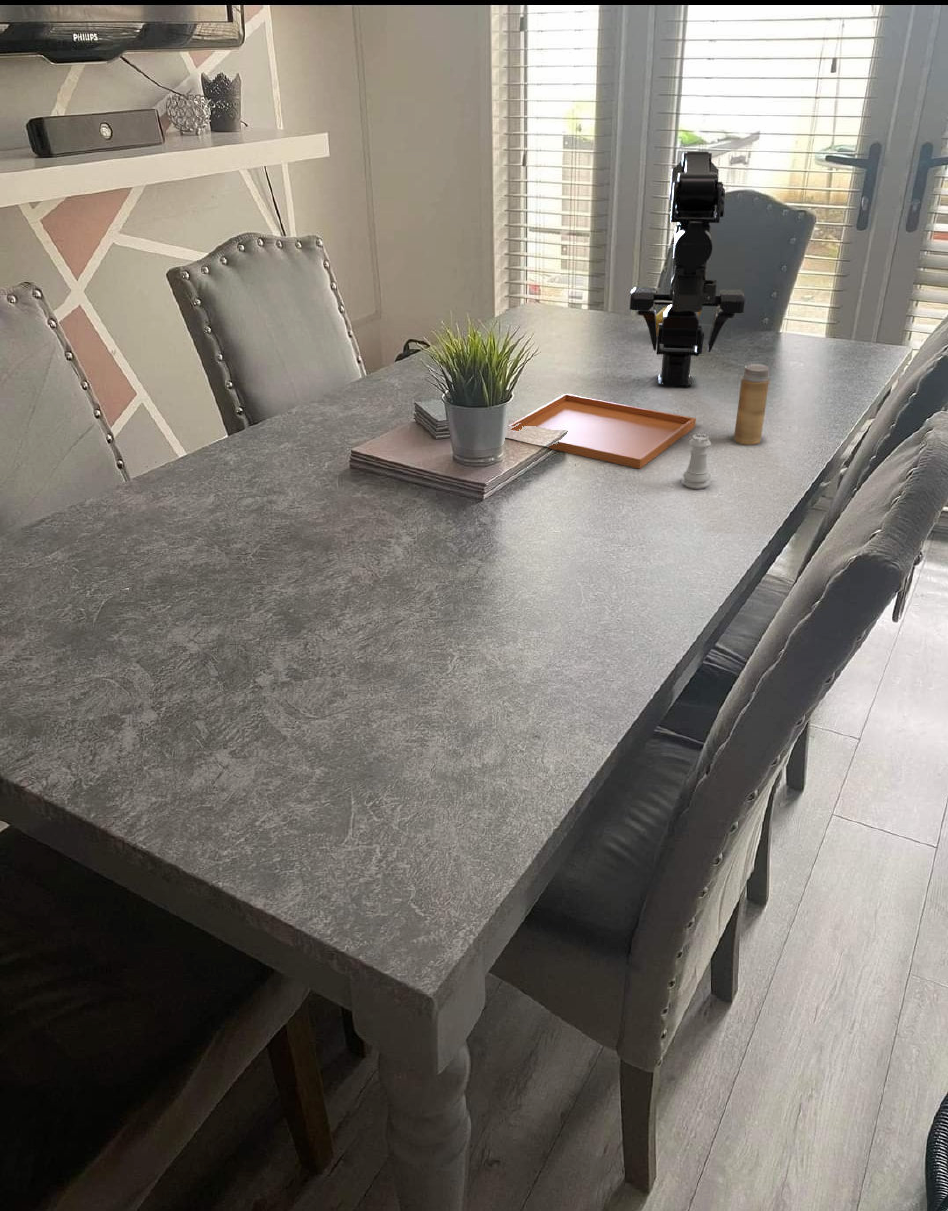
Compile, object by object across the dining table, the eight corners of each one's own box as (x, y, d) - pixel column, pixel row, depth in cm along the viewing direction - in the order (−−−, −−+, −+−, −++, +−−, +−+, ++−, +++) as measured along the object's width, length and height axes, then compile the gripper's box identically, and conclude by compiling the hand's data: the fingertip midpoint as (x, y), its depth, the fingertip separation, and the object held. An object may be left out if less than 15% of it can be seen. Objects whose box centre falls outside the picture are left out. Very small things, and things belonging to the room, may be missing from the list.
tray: (564, 401, 189) (565, 393, 188) (695, 426, 176) (696, 418, 175) (501, 437, 172) (501, 429, 172) (640, 468, 159) (640, 459, 158)
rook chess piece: (708, 478, 155) (713, 431, 151) (711, 490, 151) (717, 442, 147) (680, 478, 156) (685, 431, 151) (682, 489, 152) (687, 441, 148)
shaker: (733, 434, 172) (742, 362, 165) (759, 436, 171) (770, 363, 164) (734, 443, 168) (743, 370, 161) (761, 445, 167) (772, 372, 161)
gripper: (631, 264, 154) (625, 361, 161) (752, 266, 150) (739, 365, 158) (634, 252, 163) (628, 344, 171) (747, 254, 160) (736, 348, 168)
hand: (681, 350), depth 167 cm, fingers open, 9 cm apart
